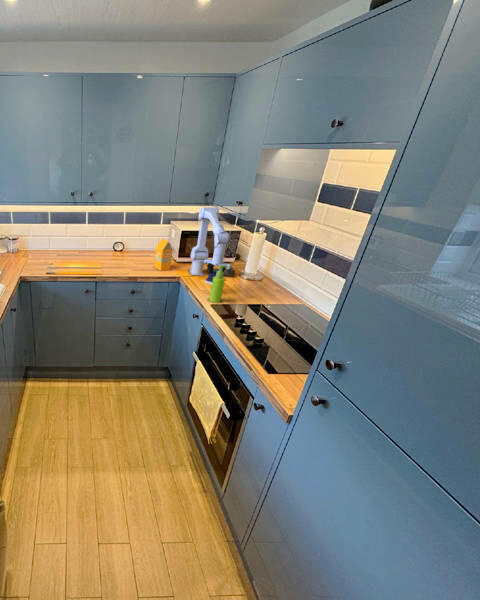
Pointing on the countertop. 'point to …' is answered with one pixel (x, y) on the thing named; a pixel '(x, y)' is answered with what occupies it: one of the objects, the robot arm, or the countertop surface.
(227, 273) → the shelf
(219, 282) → the soap dispenser
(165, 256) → the orange juice
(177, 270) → the countertop surface
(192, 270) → the robot arm
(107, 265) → the countertop surface
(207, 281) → the trainer
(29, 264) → the countertop surface
